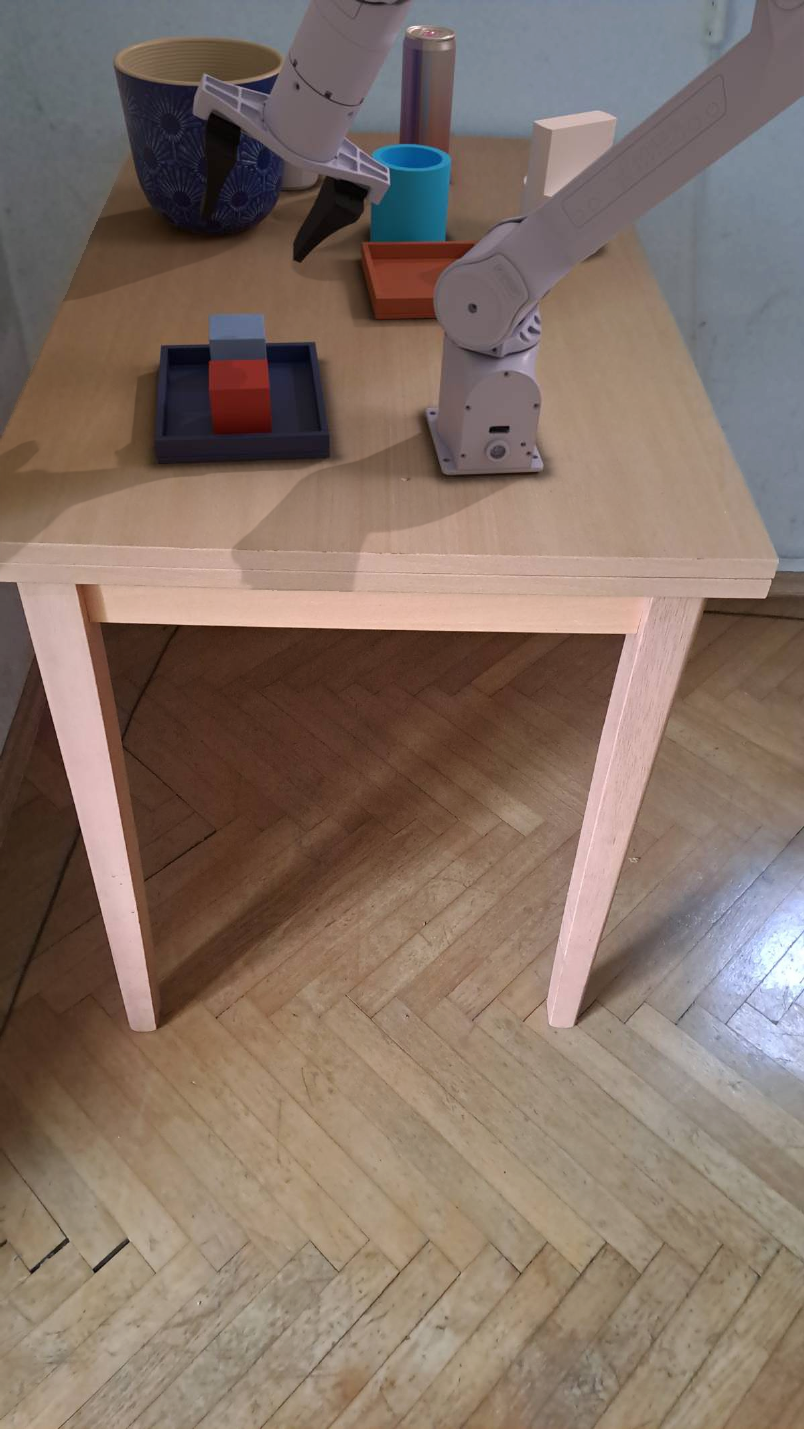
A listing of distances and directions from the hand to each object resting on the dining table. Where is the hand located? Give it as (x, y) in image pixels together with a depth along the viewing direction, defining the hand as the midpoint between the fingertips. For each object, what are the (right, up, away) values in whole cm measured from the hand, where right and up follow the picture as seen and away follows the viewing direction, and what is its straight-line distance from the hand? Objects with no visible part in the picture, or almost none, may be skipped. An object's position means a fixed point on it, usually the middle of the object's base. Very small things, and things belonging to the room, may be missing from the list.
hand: (251, 233), depth 77 cm
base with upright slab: (+29, +14, +31) cm, 45 cm away
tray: (+14, +5, +22) cm, 27 cm away
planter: (-9, +17, +32) cm, 37 cm away
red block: (-1, -15, +2) cm, 15 cm away
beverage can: (+14, +28, +44) cm, 54 cm away
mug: (+12, +15, +32) cm, 37 cm away
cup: (-1, +26, +41) cm, 49 cm away
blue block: (-2, -9, +7) cm, 11 cm away
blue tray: (-1, -12, +4) cm, 13 cm away
